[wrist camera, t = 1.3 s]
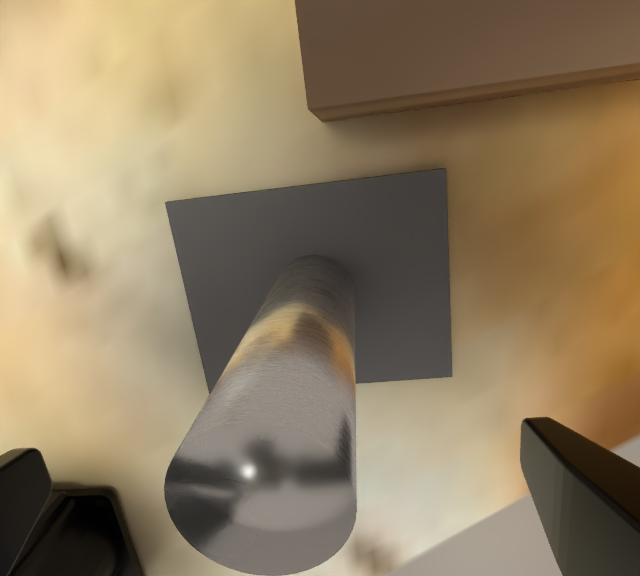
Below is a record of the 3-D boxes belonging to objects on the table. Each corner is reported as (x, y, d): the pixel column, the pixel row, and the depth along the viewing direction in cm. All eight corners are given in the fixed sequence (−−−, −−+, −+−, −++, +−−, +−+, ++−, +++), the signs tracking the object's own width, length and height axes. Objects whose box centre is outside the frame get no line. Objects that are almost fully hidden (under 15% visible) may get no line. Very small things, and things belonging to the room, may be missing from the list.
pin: (358, 326, 16) (365, 574, 7) (281, 332, 17) (187, 577, 7) (350, 251, 15) (345, 415, 6) (270, 259, 16) (143, 427, 6)
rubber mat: (450, 373, 17) (452, 376, 17) (211, 389, 18) (209, 393, 18) (444, 168, 14) (446, 168, 14) (168, 201, 16) (165, 202, 15)
